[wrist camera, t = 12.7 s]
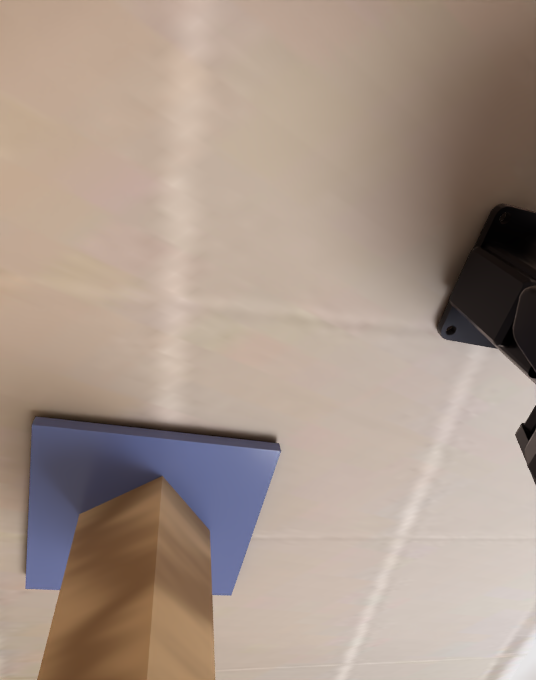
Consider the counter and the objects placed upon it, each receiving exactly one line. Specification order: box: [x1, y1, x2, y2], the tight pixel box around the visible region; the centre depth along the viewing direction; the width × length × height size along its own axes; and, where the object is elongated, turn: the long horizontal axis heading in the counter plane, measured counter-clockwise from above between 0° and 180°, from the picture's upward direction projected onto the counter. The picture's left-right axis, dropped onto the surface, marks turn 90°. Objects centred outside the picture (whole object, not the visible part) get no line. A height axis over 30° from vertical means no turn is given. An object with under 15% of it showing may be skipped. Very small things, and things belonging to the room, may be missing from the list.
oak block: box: [37, 476, 215, 680], centre depth 21 cm, size 5×5×12 cm
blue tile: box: [26, 417, 281, 595], centre depth 27 cm, size 12×12×1 cm
